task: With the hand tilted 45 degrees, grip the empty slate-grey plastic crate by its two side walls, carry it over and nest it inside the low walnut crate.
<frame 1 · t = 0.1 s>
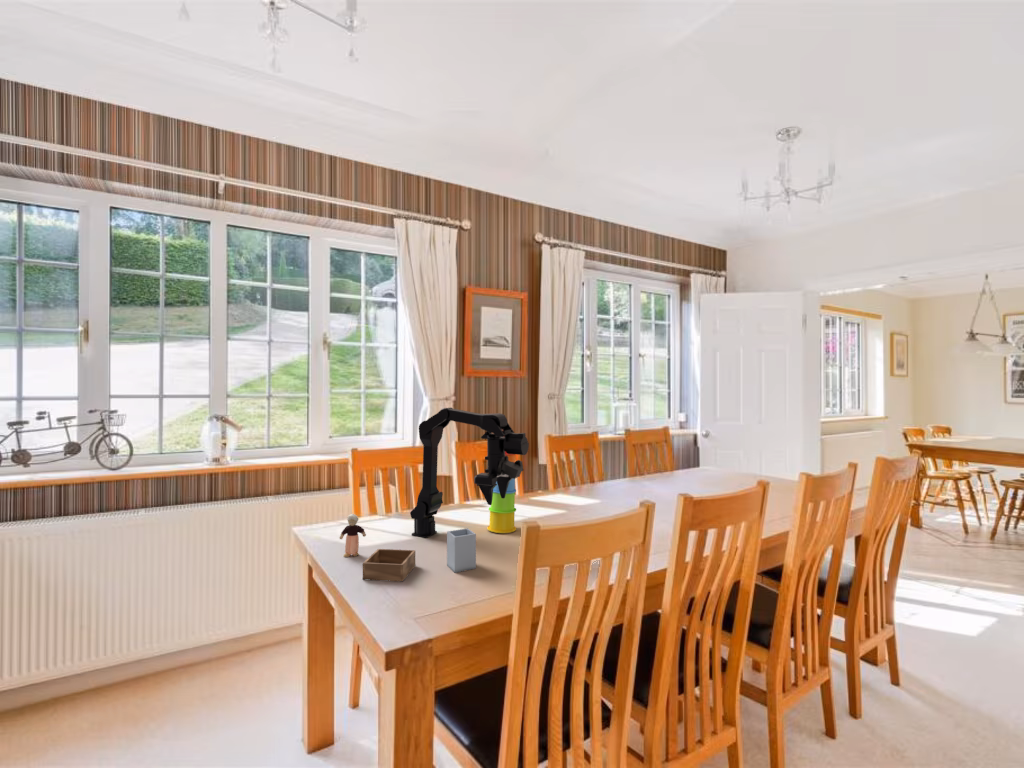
hand: (496, 501, 163), 15 cm above the table, tool pointing down, fingers open, 9 cm apart
grandmother figurine: (353, 555, 156), on the table
crate large: (390, 572, 142), on the table
crate small: (461, 567, 146), on the table
stacking cups: (501, 530, 181), on the table
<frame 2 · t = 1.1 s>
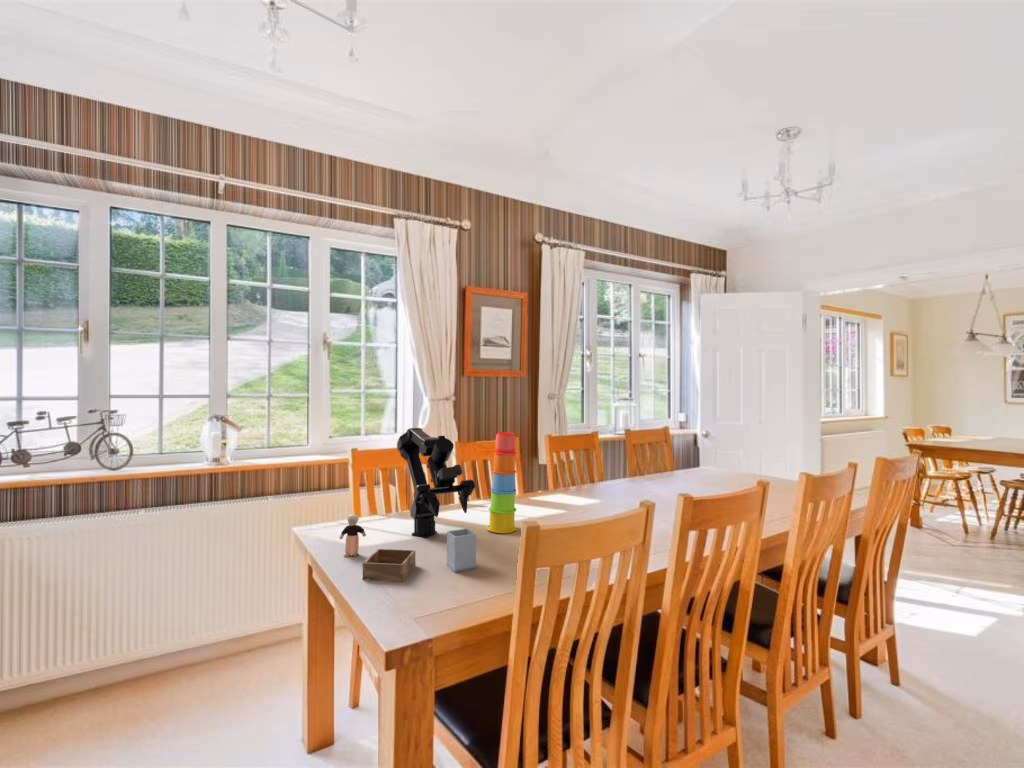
hand: (451, 514, 153), 13 cm above the table, tool tilted 45°, fingers open, 9 cm apart
nothing on the table moved.
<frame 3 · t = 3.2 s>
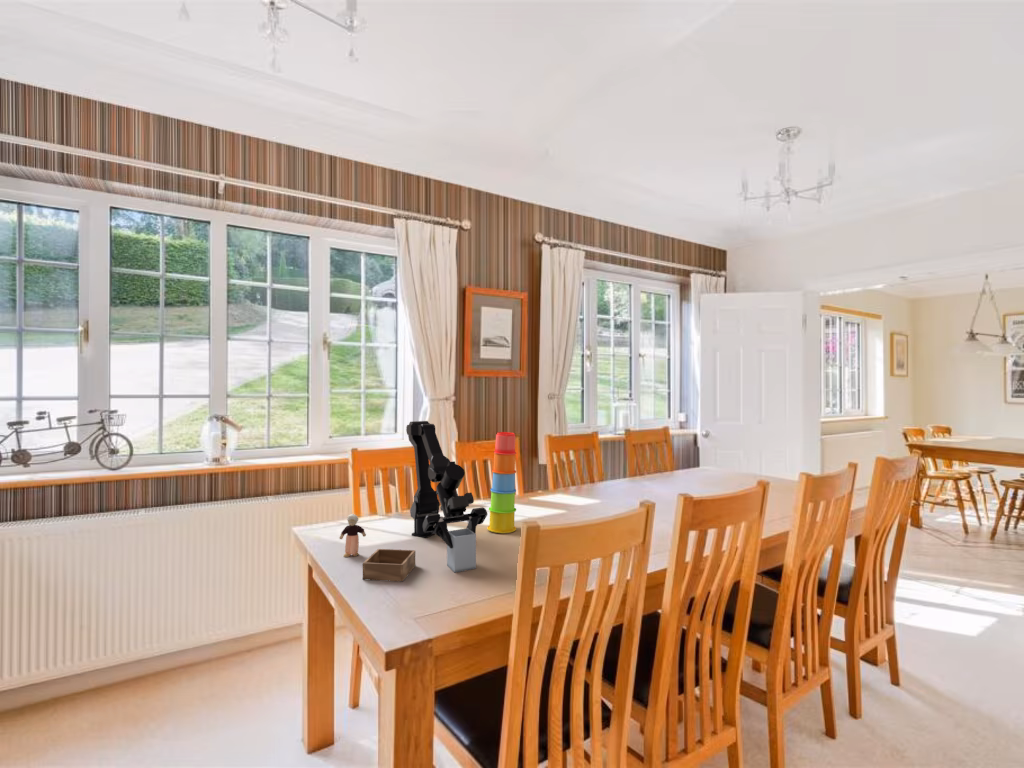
hand: (463, 545, 145), 7 cm above the table, tool tilted 45°, fingers closed on crate small, 6 cm apart
crate small: (461, 567, 146), on the table, touching gripper
everything else where it was.
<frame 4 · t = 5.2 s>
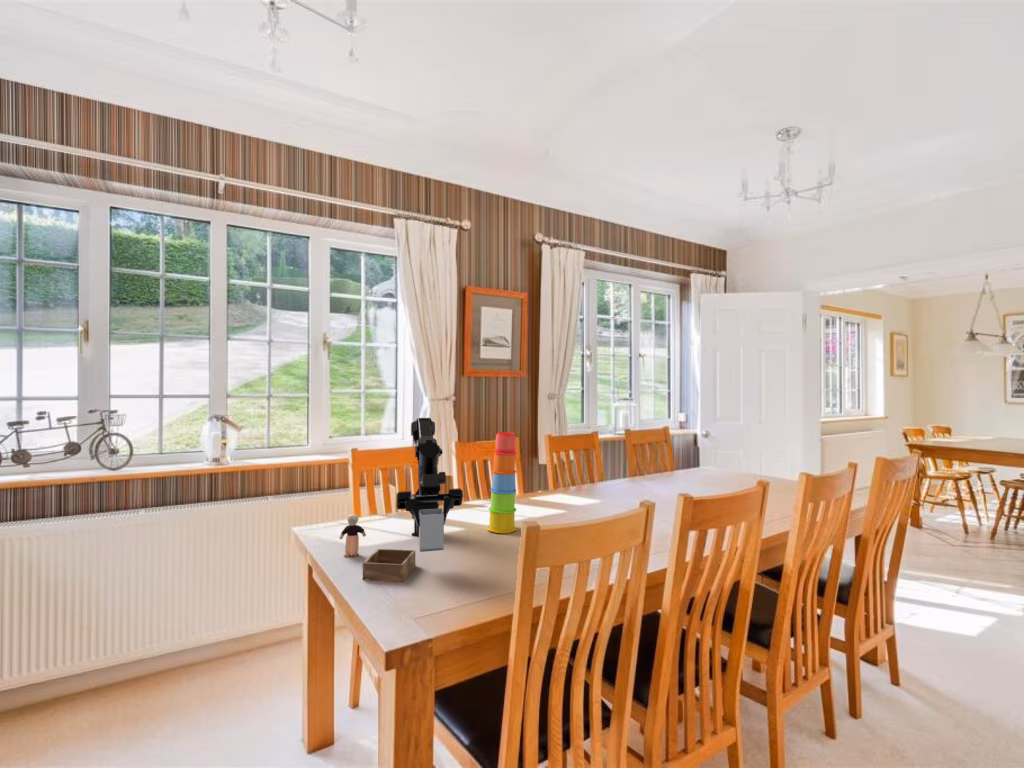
hand: (431, 525, 142), 13 cm above the table, tool tilted 45°, fingers closed on crate small, 6 cm apart
crate small: (431, 547, 143), point 7 cm above the table, touching gripper
everything else where it was.
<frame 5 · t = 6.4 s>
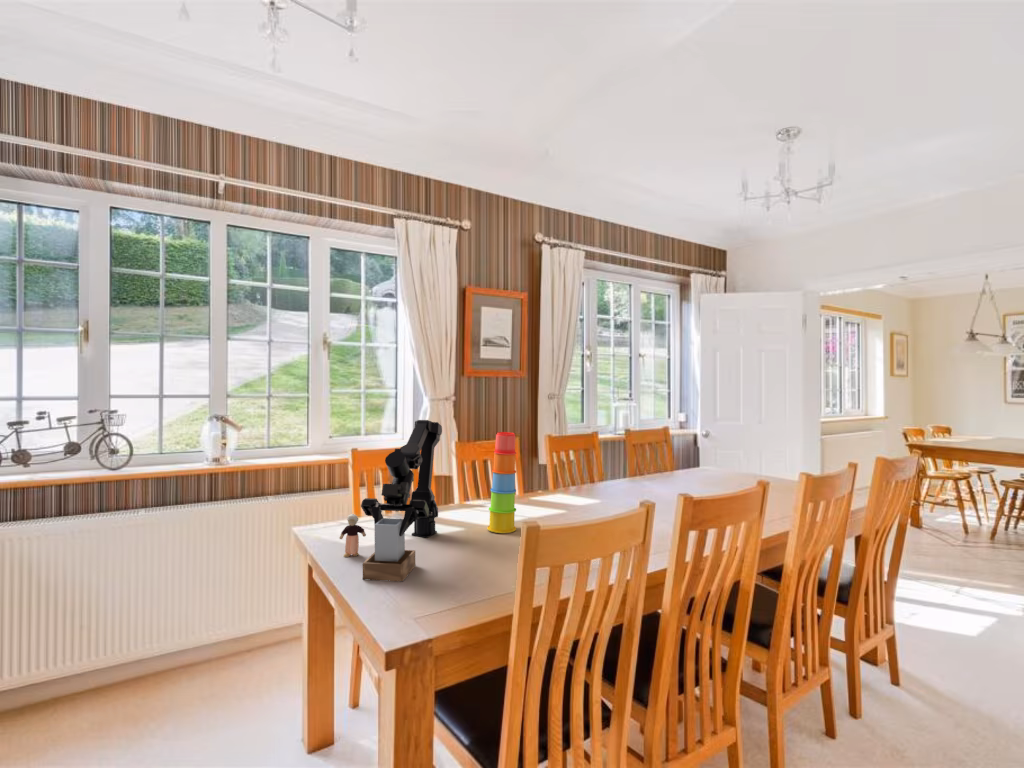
hand: (388, 535, 141), 11 cm above the table, tool tilted 45°, fingers closed on crate small, 6 cm apart
crate small: (390, 557, 142), point 4 cm above the table, touching gripper
everything else where it was.
when the fingers open (9 cm above the table, at t = 7.3 s): crate small drops 1 cm, resting on crate large.
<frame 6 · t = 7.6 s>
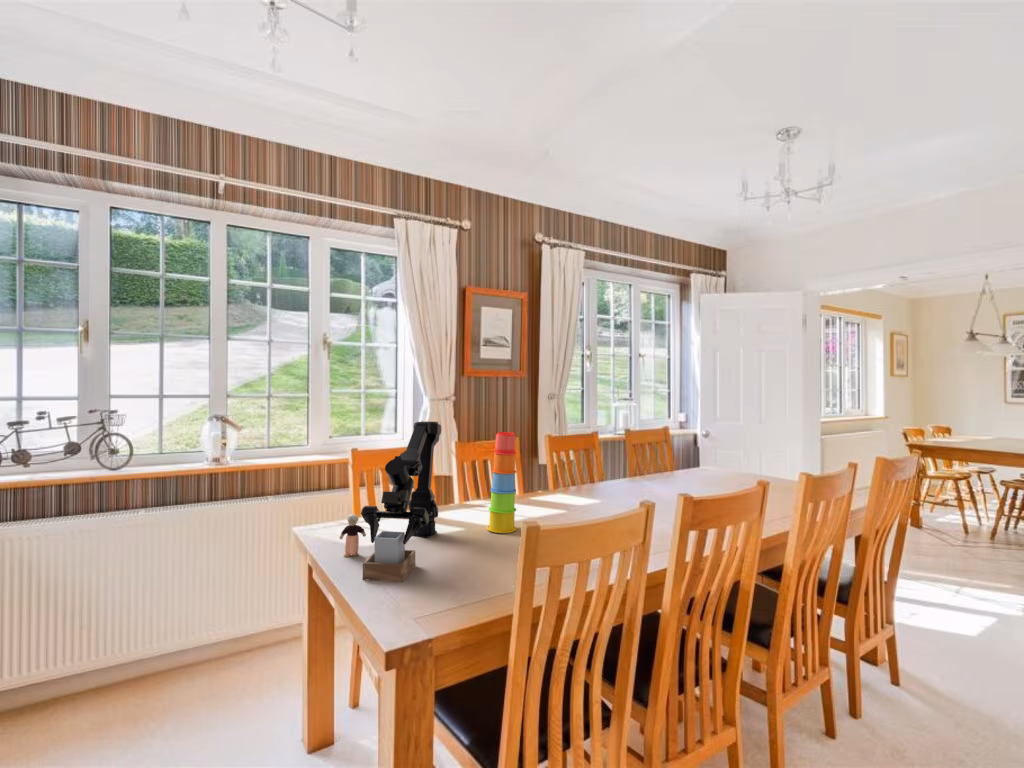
hand: (388, 543, 141), 9 cm above the table, tool tilted 45°, fingers open, 9 cm apart
crate small: (390, 570, 142), point 1 cm above the table, touching crate large
everything else where it was.
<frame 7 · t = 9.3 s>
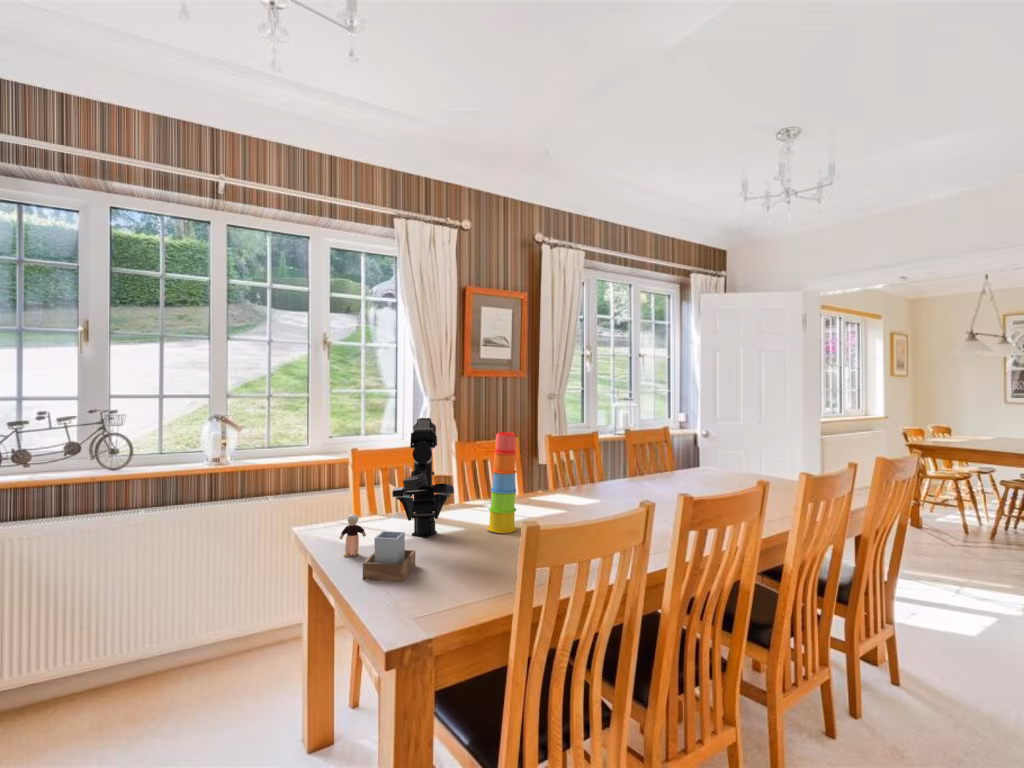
hand: (422, 519, 155), 11 cm above the table, tool tilted 20°, fingers open, 9 cm apart
nothing on the table moved.
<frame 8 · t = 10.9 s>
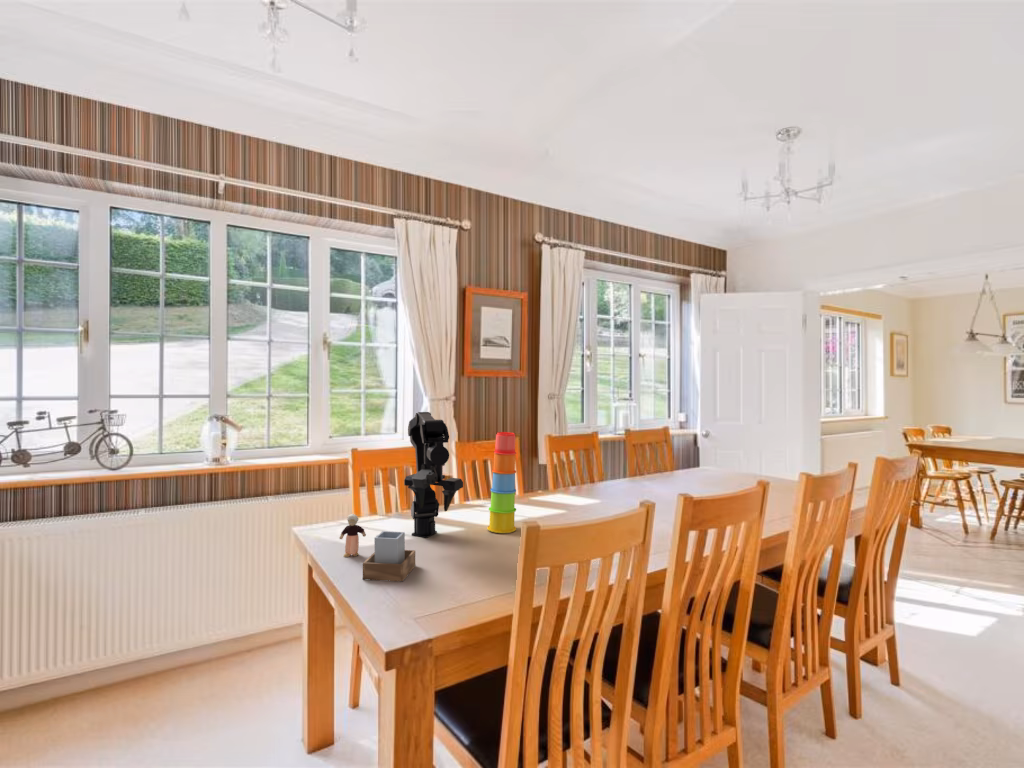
hand: (433, 509, 160), 13 cm above the table, tool pointing down, fingers open, 9 cm apart
nothing on the table moved.
at the end: crate small 0.0 cm off-centre on the crate large, point 0.6 cm above the crate large's base; crate small tilted 0°; the gripper is holding nothing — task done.
